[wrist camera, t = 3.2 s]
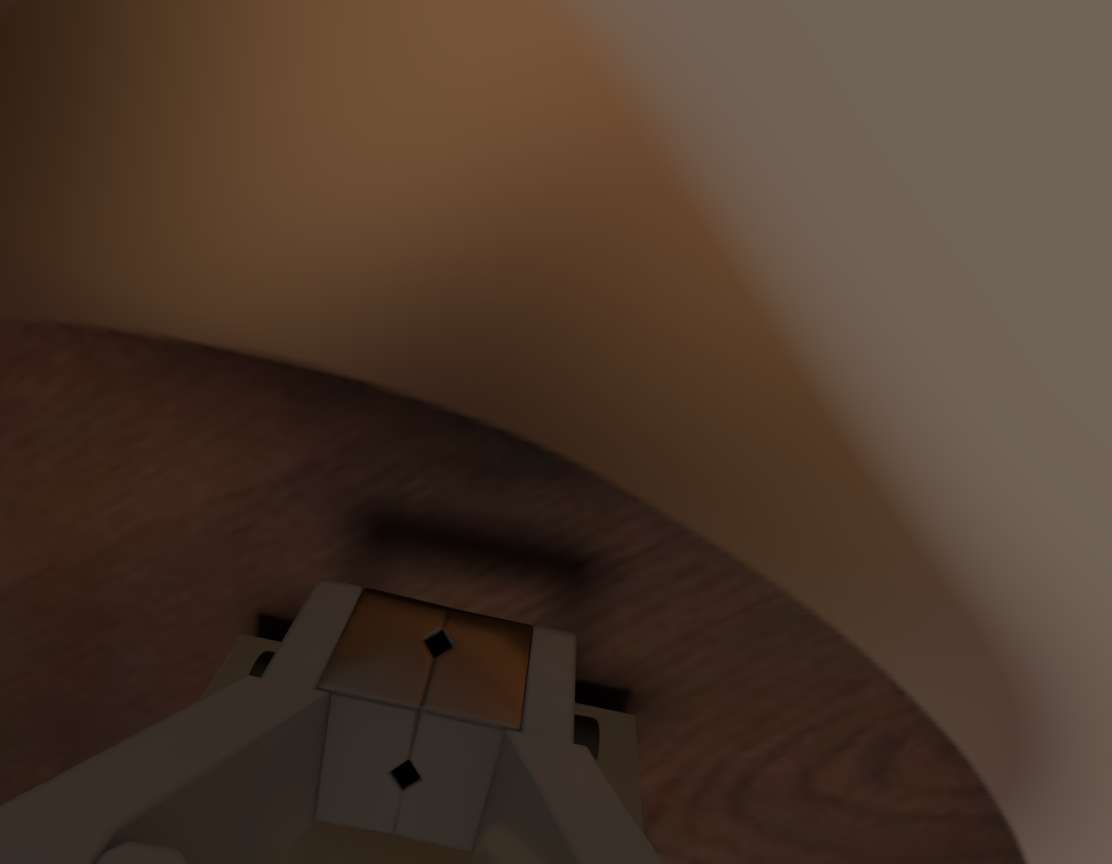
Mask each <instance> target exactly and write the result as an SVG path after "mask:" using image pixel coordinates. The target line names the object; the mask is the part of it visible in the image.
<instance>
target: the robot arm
mask: <svg viewBox="0 0 1112 864" xmlns="http://www.w3.org/2000/svg"><path fill="white" fill-rule="evenodd" d="M576 641H577V638H576V636H575V634H574V632H570V631H565V630H560V629H555V628H550V627H544V626H539V625H534V624H533V625H532V626H531V625H529V624H524V623H519V622H514V621H510V620H505V619H500V618H496V617H491V616H486V615H481V614H477V613H472V612H467V611H463V610H458V609H453V608H450V607H446V606H442V605H437V604H433V603H429V602H425V601H421V600H417V599H413V598H409V597H404V596H400V595H396V594H392V593H388V592H384V591H380V590H376V589H371V588H366V589H365V588H363V587H361V586H356V585H352V584H348V583H344V582H339V581H335V580H331V579H327V578H322V579H321V580H320V581H319V582H317V583H316V584H315V585H314V587H313V588H312V590H311V592H310V594H309V595H308V597H307V599H306V601H305V602H304V604H303V606H302V607H301V609H300V611H299V613H298V614H297V616H296V618H295V619H294V621H293V623H292V625H291V626H290V628H289V630H288V632H287V633H286V635H285V637H284V638H283V640H282V642H281V644H280V645H279V647H278V649H277V650H276V652H275V654H274V656H273V657H272V659H271V661H270V663H269V664H268V666H267V668H266V669H265V671H264V673H263V675H262V676H261V678H259V677H254V676H249V675H246V676H244V677H242V678H240V679H238V680H236V681H234V682H233V683H231V684H229V685H227V686H225V687H223V688H221V689H219V690H217V691H216V692H214V693H212V694H210V695H208V696H206V697H204V698H202V699H201V700H199V701H197V702H195V703H193V704H191V705H189V706H187V707H185V708H184V709H182V710H180V711H178V712H176V713H174V714H172V715H170V716H168V717H167V718H165V719H163V720H161V721H159V722H157V723H155V724H153V725H152V726H150V727H148V728H146V729H144V730H142V731H140V732H138V733H136V734H135V735H133V736H131V737H129V738H127V739H125V740H123V741H121V742H120V743H118V744H116V745H114V746H112V747H110V748H108V749H106V750H104V751H103V752H101V753H99V754H97V755H95V756H93V757H91V758H89V759H87V760H86V761H84V762H82V763H80V764H78V765H76V766H74V767H72V768H71V769H69V770H67V771H65V772H63V773H61V774H59V775H57V776H55V777H54V778H52V779H50V780H48V781H46V782H44V783H42V784H40V785H38V786H37V787H35V788H33V789H31V790H29V791H27V792H25V793H23V794H22V795H20V796H18V797H16V798H14V799H12V800H10V801H8V802H6V803H5V804H3V805H1V806H0V864H271V863H272V862H273V861H274V860H275V859H276V858H278V857H279V856H280V855H281V854H282V853H283V852H284V851H285V850H286V849H287V848H289V847H290V846H291V845H292V844H293V843H294V842H295V841H296V840H297V839H298V838H300V837H301V836H302V835H303V834H304V833H305V832H306V831H307V830H308V829H309V828H311V827H312V824H313V821H319V822H325V823H330V824H336V825H342V826H348V827H354V828H360V829H366V830H372V831H378V832H383V833H389V834H394V835H399V836H403V837H407V838H412V839H416V840H420V841H425V842H429V843H433V844H438V845H442V846H446V847H451V848H455V849H459V850H464V851H468V852H471V856H470V857H471V860H472V862H473V864H664V863H663V862H662V860H661V859H660V857H659V856H658V854H657V853H656V851H655V850H654V848H653V846H652V845H651V843H650V842H649V840H648V839H647V837H646V836H645V834H644V833H643V831H642V830H641V828H640V827H639V825H638V824H637V822H636V821H635V819H634V818H633V816H632V815H631V813H630V811H629V810H628V808H627V807H626V805H625V804H624V802H623V801H622V799H621V798H620V796H619V795H618V793H617V792H616V790H615V789H614V787H613V786H612V784H611V783H610V781H609V780H608V778H607V776H606V775H605V773H604V772H603V770H602V769H601V767H600V766H599V764H598V763H597V761H596V760H595V758H594V757H593V755H592V754H591V752H590V751H589V749H588V748H587V747H586V746H582V745H578V744H574V711H575V676H576Z"/></svg>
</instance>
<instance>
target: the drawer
mask: <svg viewBox="0 0 1112 864" xmlns="http://www.w3.org/2000/svg"><path fill="white" fill-rule="evenodd" d="M280 644H281V642H279V641H275V640H270V639H265V638H260V637H255V636H250V635H246V634H241V635H240V637H239V638H238V640H237V641H236V643H235V645H234V646H233V648H232V649H231V651H230V652H229V654H228V655H227V657H226V659H225V660H224V662H223V663H222V665H221V666H220V668H219V669H218V671H217V672H216V674H215V676H214V677H213V679H212V680H211V682H210V683H209V685H208V686H207V688H206V690H205V691H204V693H203V694H202V696H201V697H200V699H199V700H201V699H202V698H204V697H206V696H208V695H210V694H212V693H214V692H216V691H217V690H219V689H221V688H223V687H225V686H227V685H229V684H231V683H233V682H234V681H236V680H238V679H240V678H242V677H244V676H246V675H249V676H254V677H259V678H261V676H262V675H263V673H264V671H265V669H266V668H267V666H268V664H269V663H270V661H271V659H272V657H273V656H274V654H275V652H276V650H277V649H278V647H279V645H280ZM199 700H198V701H199ZM574 744H578V745H582V746H586V747H587V748H588V749H589V751H590V752H591V754H592V755H593V757H594V758H595V760H596V761H597V763H598V764H599V766H600V767H601V769H602V770H603V772H604V773H605V775H606V776H607V778H608V780H609V781H610V783H611V784H612V786H613V787H614V789H615V790H616V792H617V793H618V795H619V796H620V798H621V799H622V801H623V802H624V804H625V805H626V807H627V808H628V810H629V811H630V813H631V815H632V816H633V818H634V819H635V821H636V822H637V824H638V825H639V827H640V828H641V830H642V831H643V822H642V808H641V794H640V780H639V766H638V752H637V739H636V725H635V716H634V715H632V714H627V713H622V712H617V711H613V710H608V709H603V708H598V707H593V706H588V705H584V704H579V703H575V711H574ZM470 856H471V852H468V851H464V850H459V849H455V848H451V847H446V846H442V845H438V844H433V843H429V842H425V841H420V840H416V839H412V838H407V837H403V836H399V835H394V834H389V833H383V832H378V831H372V830H366V829H360V828H354V827H348V826H342V825H336V824H330V823H325V822H319V821H313V824H312V827H311V828H309V829H308V830H307V831H306V832H305V833H304V834H303V835H302V836H301V837H300V838H298V839H297V840H296V841H295V842H294V843H293V844H292V845H291V846H290V847H289V848H287V849H286V850H285V851H284V852H283V853H282V854H281V855H280V856H279V857H278V858H276V859H275V860H274V861H273V862H272V863H271V864H473V862H472V860H471V857H470Z"/></svg>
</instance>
